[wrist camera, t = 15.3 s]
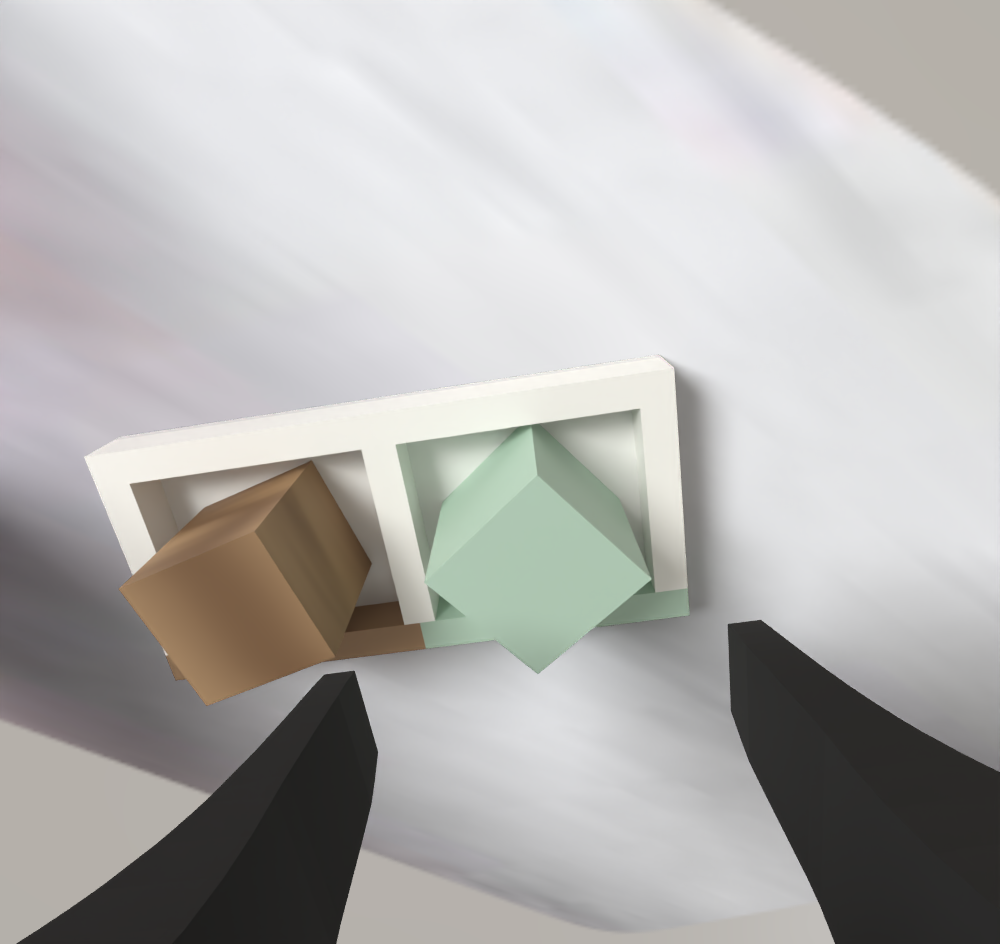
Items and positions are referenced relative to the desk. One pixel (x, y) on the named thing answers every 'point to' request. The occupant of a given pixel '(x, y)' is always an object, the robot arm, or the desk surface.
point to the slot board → (419, 482)
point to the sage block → (534, 548)
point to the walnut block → (254, 585)
